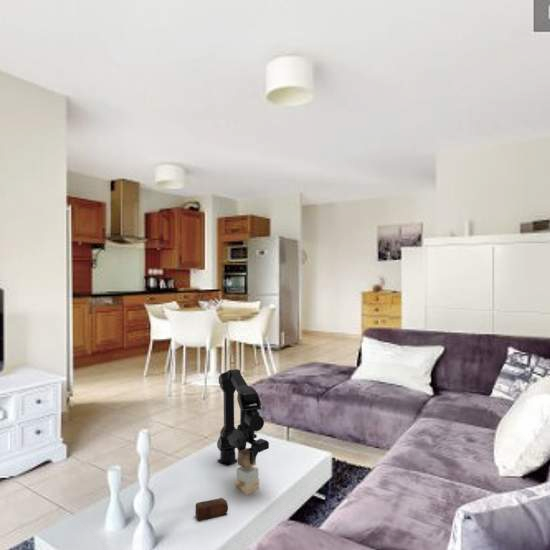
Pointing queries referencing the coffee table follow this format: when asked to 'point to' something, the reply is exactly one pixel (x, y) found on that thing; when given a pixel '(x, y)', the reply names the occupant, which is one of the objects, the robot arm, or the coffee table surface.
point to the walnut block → (245, 458)
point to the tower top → (247, 474)
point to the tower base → (246, 486)
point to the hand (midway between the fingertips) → (246, 461)
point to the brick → (211, 509)
